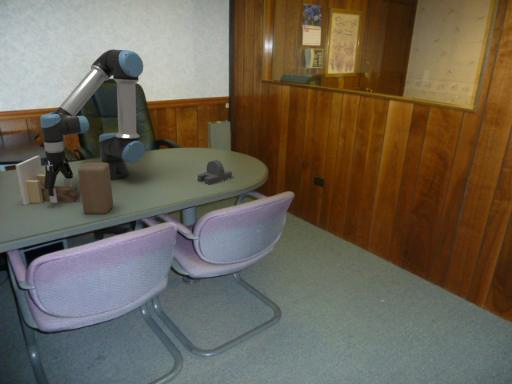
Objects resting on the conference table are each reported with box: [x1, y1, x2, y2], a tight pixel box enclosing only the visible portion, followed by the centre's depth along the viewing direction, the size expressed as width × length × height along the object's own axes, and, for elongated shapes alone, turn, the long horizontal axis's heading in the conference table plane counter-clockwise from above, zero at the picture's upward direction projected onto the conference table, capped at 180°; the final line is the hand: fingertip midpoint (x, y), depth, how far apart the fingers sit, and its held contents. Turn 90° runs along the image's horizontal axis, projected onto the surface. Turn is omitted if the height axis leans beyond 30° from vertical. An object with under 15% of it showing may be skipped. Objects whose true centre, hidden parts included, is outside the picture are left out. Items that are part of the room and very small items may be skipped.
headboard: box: [15, 155, 45, 206], centre depth 170 cm, size 6×15×18 cm, turn 177°
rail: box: [41, 185, 80, 203], centre depth 171 cm, size 18×4×6 cm, turn 87°
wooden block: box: [77, 162, 114, 215], centre depth 161 cm, size 10×10×20 cm
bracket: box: [197, 159, 233, 186], centre depth 206 cm, size 10×18×11 cm, turn 140°
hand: (61, 197), depth 172 cm, fingers open, 12 cm apart
